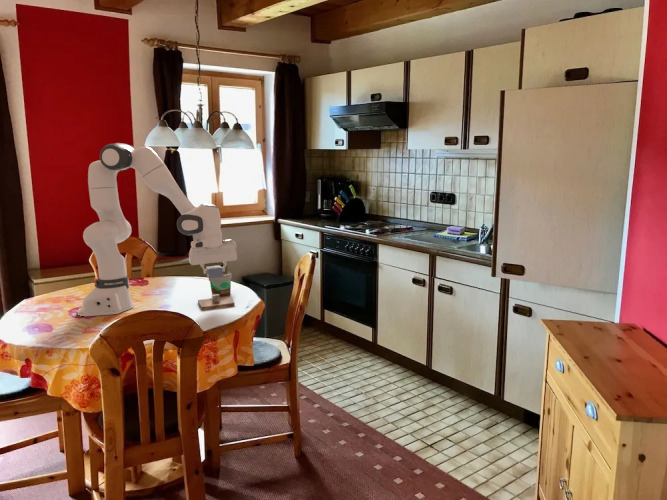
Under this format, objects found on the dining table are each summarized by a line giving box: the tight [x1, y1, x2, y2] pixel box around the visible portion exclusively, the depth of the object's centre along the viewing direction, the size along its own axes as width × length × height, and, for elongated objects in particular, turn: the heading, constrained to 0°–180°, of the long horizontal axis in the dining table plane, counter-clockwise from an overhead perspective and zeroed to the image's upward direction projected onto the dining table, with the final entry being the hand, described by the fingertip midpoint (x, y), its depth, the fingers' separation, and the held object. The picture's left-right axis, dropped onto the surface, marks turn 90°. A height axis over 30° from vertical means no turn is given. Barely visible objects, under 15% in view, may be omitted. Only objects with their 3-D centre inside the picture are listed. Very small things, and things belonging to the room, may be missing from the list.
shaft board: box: [197, 294, 236, 311], centre depth 236 cm, size 14×12×4 cm
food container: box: [208, 271, 233, 297], centre depth 251 cm, size 12×6×10 cm, turn 143°
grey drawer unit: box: [205, 264, 224, 279], centre depth 233 cm, size 6×6×4 cm
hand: (214, 272), depth 233 cm, fingers closed on grey drawer unit, 6 cm apart
